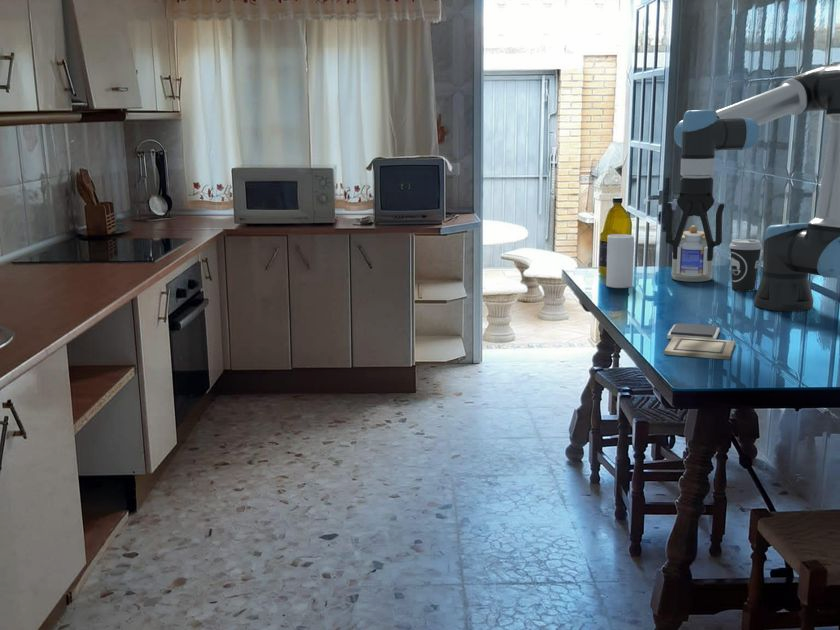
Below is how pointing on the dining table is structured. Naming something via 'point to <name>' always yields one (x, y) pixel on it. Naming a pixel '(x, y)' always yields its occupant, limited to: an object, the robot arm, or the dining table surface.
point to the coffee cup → (744, 263)
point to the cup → (620, 260)
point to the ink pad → (693, 331)
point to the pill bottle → (692, 255)
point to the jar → (674, 274)
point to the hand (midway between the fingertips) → (691, 273)
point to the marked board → (700, 347)
